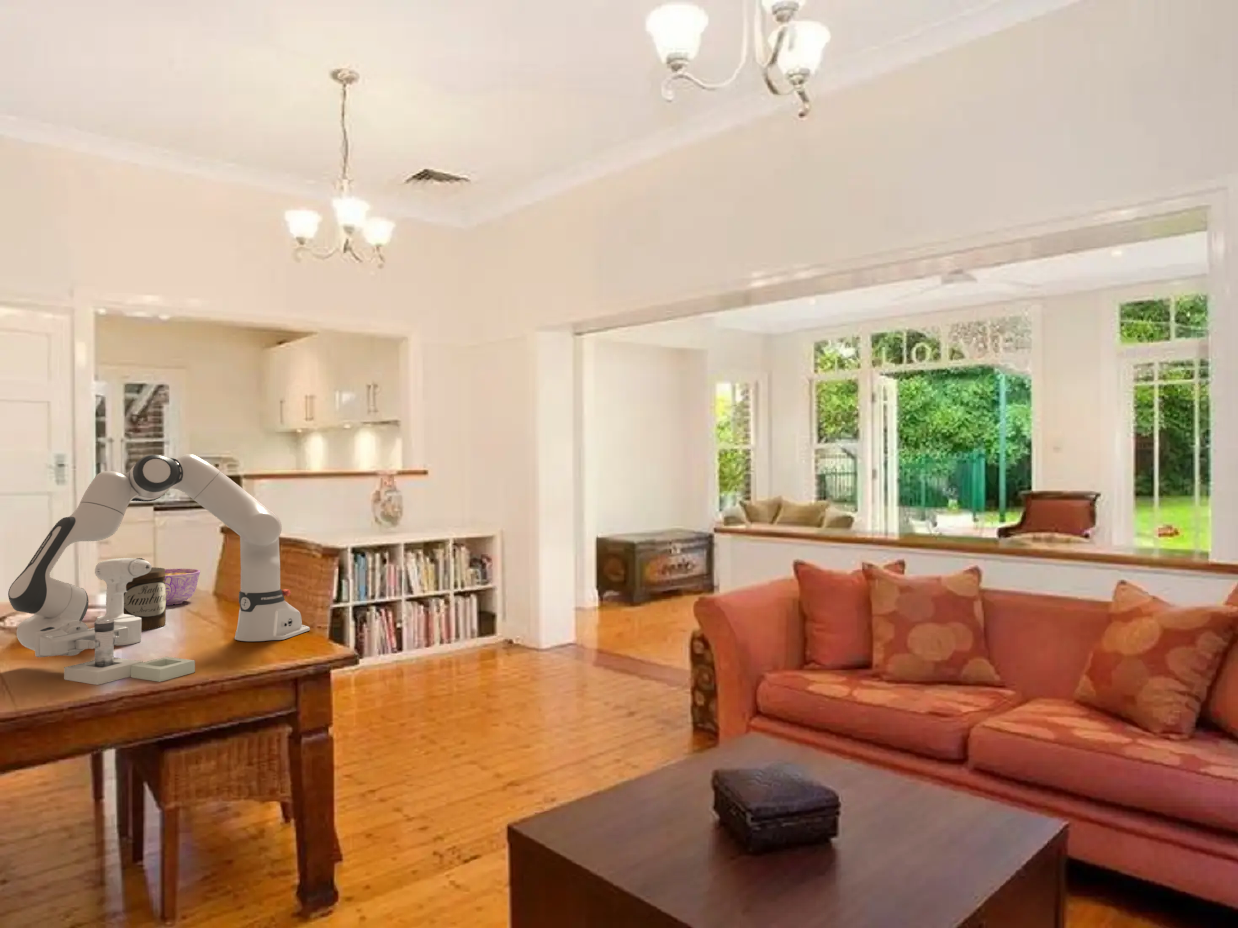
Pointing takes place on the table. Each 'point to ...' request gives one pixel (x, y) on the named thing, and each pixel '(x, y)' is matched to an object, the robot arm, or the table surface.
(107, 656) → the clear capped tube
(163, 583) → the brown cylinder
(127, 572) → the power drill
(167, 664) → the block
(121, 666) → the socket block
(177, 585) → the bowl of food
